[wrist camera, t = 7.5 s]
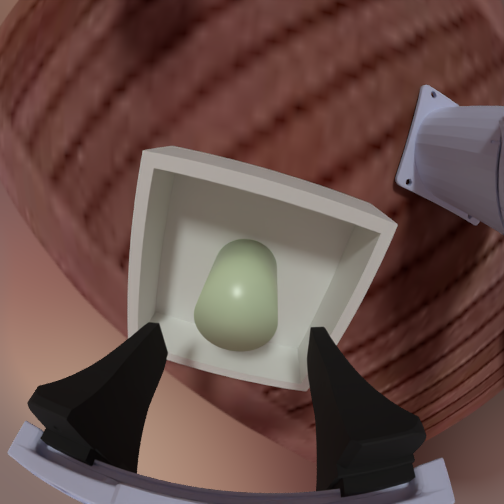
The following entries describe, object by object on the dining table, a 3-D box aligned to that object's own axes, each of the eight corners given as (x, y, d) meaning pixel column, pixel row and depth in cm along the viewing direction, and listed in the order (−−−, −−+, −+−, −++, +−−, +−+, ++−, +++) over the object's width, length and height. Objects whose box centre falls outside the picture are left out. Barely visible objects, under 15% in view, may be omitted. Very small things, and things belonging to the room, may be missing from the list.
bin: (370, 203, 18) (397, 224, 13) (302, 351, 23) (306, 391, 19) (172, 145, 17) (143, 150, 13) (148, 311, 22) (128, 346, 18)
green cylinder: (275, 237, 18) (276, 283, 13) (278, 293, 20) (278, 350, 15) (210, 240, 19) (186, 286, 13) (219, 295, 20) (202, 350, 15)
